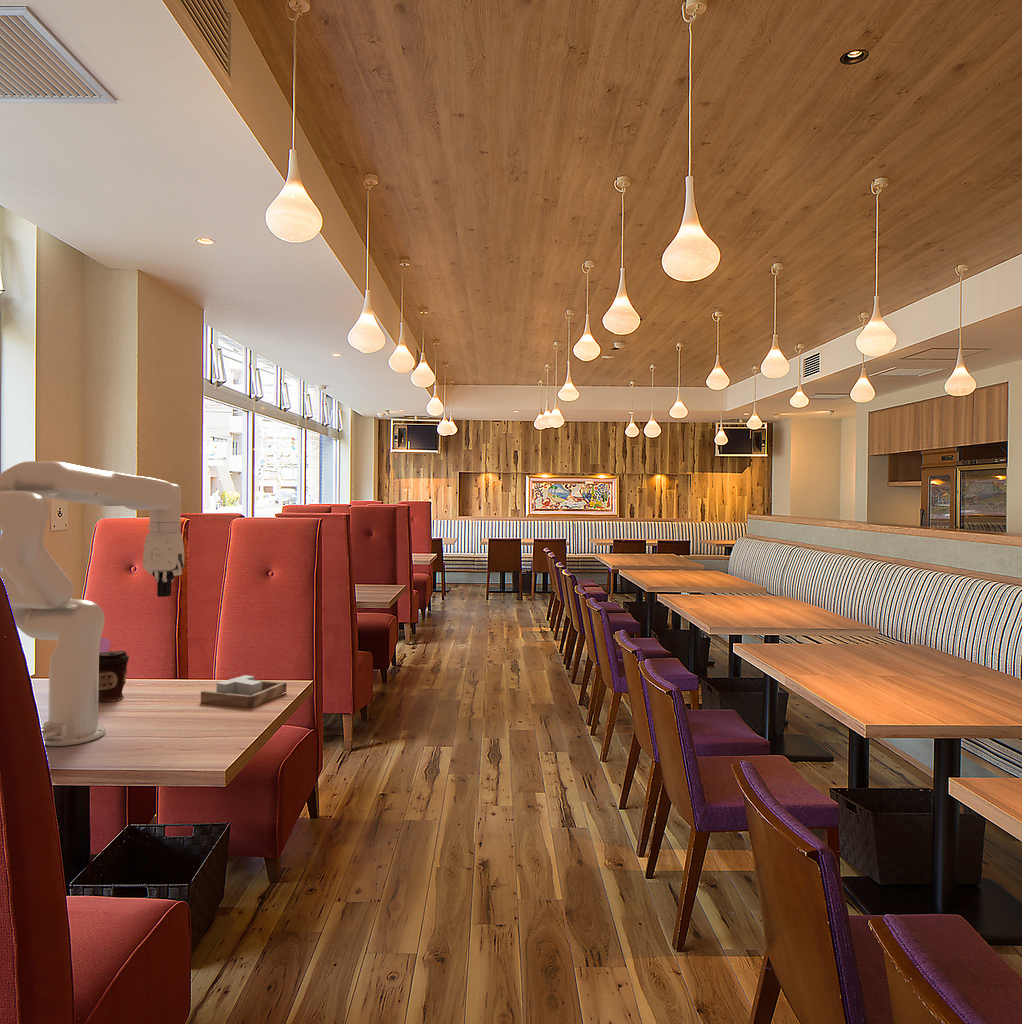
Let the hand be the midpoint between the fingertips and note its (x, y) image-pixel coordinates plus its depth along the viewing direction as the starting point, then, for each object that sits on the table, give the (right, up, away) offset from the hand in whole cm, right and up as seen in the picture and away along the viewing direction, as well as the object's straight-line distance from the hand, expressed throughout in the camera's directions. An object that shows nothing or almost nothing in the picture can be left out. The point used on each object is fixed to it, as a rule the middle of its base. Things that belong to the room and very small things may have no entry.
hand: (164, 596), depth 177 cm
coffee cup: (-16, -29, +2) cm, 33 cm away
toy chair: (-26, -29, +13) cm, 41 cm away
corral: (+19, -29, +6) cm, 35 cm away
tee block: (+20, -29, +5) cm, 36 cm away
